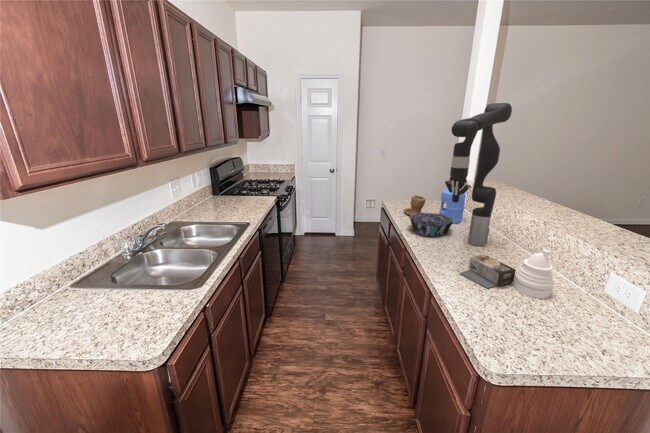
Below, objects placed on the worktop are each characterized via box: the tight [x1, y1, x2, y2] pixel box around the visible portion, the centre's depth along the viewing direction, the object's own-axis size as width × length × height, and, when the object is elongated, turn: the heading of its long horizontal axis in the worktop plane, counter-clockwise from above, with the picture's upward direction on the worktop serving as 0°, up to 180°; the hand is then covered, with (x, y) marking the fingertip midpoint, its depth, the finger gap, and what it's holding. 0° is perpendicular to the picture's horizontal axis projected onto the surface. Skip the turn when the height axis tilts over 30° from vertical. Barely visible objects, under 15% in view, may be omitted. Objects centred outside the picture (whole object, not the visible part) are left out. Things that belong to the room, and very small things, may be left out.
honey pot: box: [512, 249, 555, 299], centre depth 114 cm, size 13×13×18 cm
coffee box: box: [468, 254, 517, 287], centre depth 126 cm, size 9×6×16 cm
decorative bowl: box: [409, 212, 453, 238], centre depth 181 cm, size 26×28×10 cm
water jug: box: [438, 188, 467, 225], centre depth 197 cm, size 16×16×28 cm
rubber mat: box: [459, 269, 498, 290], centre depth 126 cm, size 14×14×1 cm
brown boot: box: [403, 195, 426, 216], centre depth 211 cm, size 15×12×15 cm
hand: (455, 202), depth 136 cm, fingers closed
